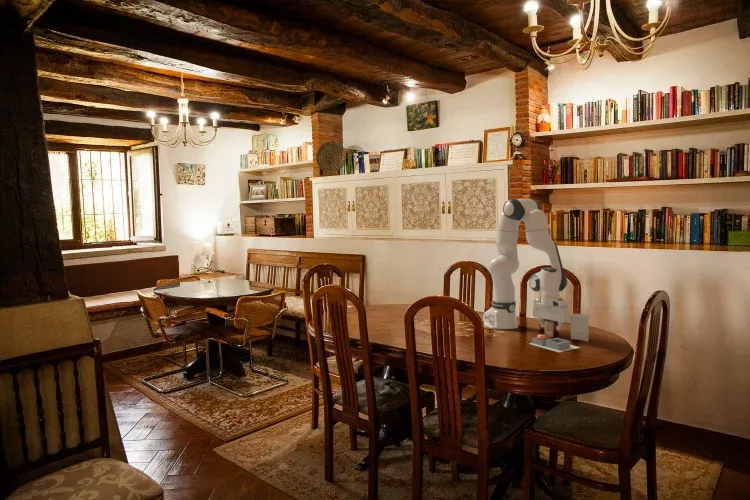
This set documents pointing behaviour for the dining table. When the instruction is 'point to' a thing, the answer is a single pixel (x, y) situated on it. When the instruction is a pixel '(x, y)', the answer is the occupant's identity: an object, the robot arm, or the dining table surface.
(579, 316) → the supplement box
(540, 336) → the test button
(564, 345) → the grey test fixture
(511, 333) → the dining table surface
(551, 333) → the cell
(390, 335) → the dining table surface
